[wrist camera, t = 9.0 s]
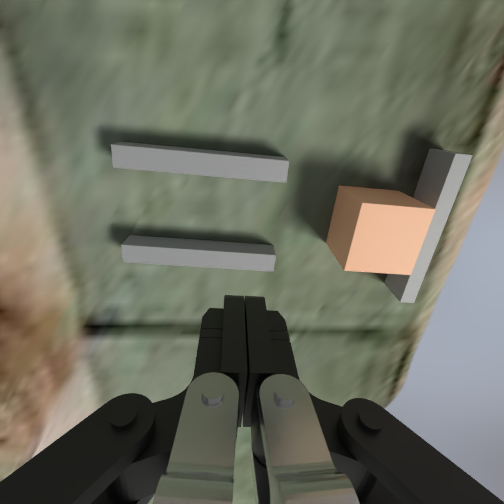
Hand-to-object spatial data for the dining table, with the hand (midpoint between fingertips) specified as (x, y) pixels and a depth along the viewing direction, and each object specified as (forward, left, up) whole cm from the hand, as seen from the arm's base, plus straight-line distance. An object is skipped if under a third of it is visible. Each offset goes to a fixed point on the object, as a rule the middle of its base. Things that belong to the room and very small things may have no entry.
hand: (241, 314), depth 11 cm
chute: (0, -3, -14) cm, 14 cm away
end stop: (0, +15, -14) cm, 20 cm away
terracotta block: (0, +10, -14) cm, 17 cm away
